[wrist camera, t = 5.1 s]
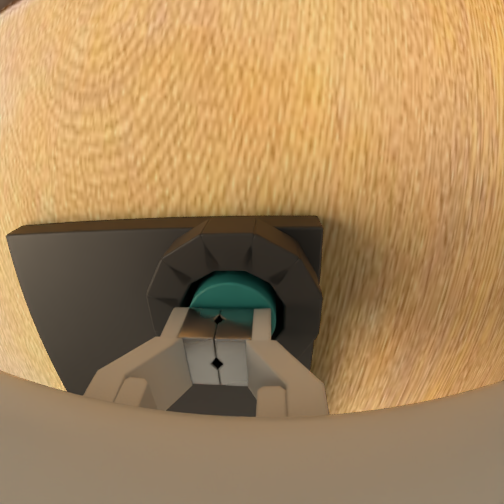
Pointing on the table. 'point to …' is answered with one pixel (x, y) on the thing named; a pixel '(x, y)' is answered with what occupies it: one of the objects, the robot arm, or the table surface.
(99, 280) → the scale
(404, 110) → the table surface
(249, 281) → the button
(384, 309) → the table surface
